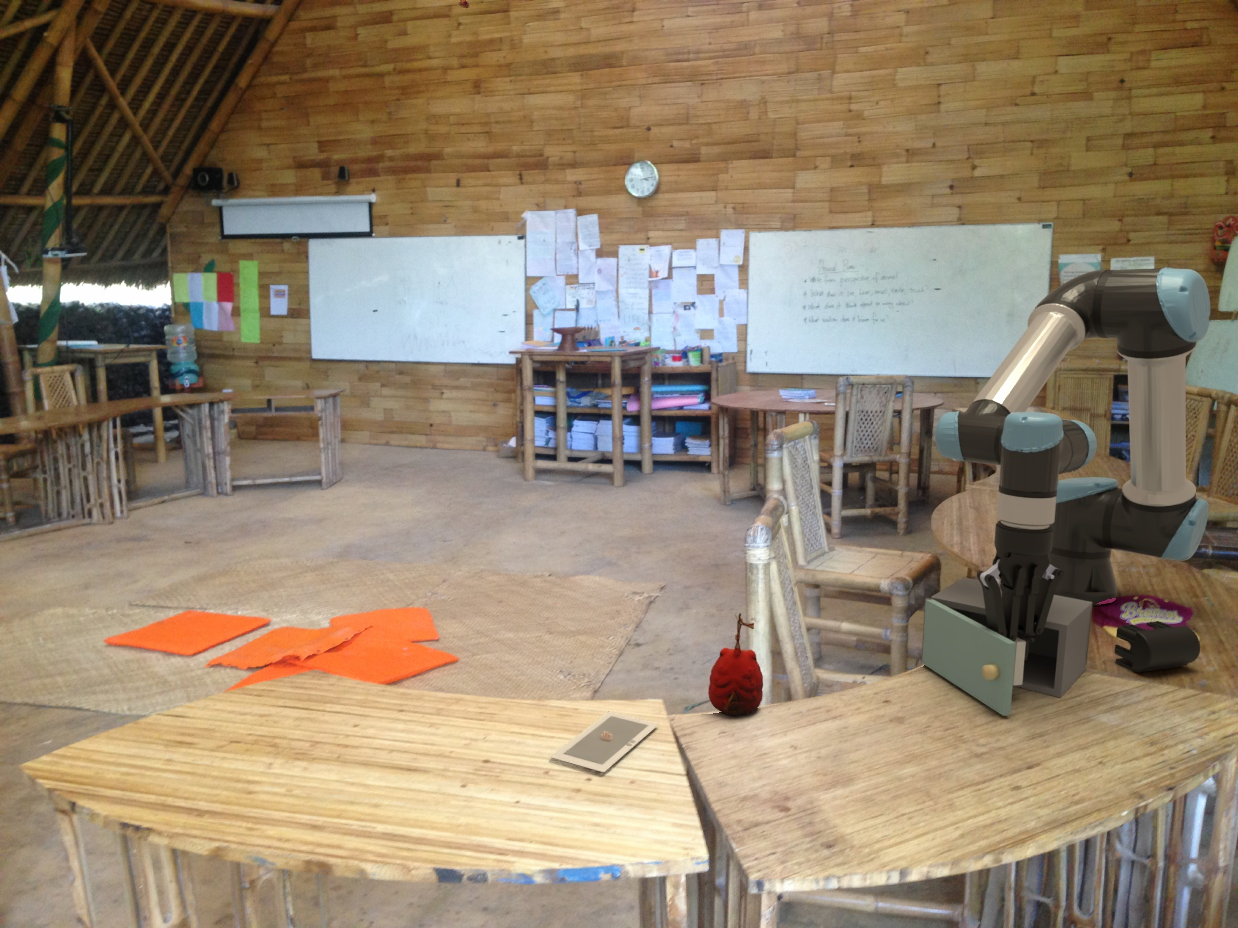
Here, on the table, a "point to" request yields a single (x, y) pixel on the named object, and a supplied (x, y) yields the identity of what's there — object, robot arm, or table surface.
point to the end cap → (1156, 647)
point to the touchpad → (604, 741)
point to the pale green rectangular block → (969, 655)
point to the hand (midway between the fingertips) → (1011, 681)
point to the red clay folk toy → (736, 679)
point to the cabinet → (1037, 636)
